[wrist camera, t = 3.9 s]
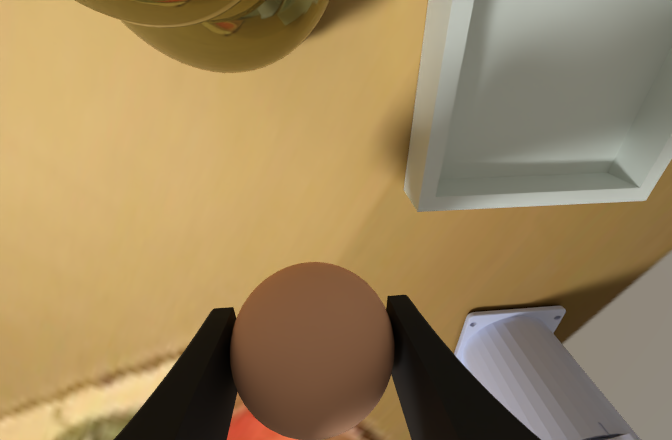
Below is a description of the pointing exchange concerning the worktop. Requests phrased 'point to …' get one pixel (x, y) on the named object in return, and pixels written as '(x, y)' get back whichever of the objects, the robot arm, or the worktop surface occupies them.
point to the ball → (312, 351)
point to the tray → (541, 103)
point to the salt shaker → (218, 29)
